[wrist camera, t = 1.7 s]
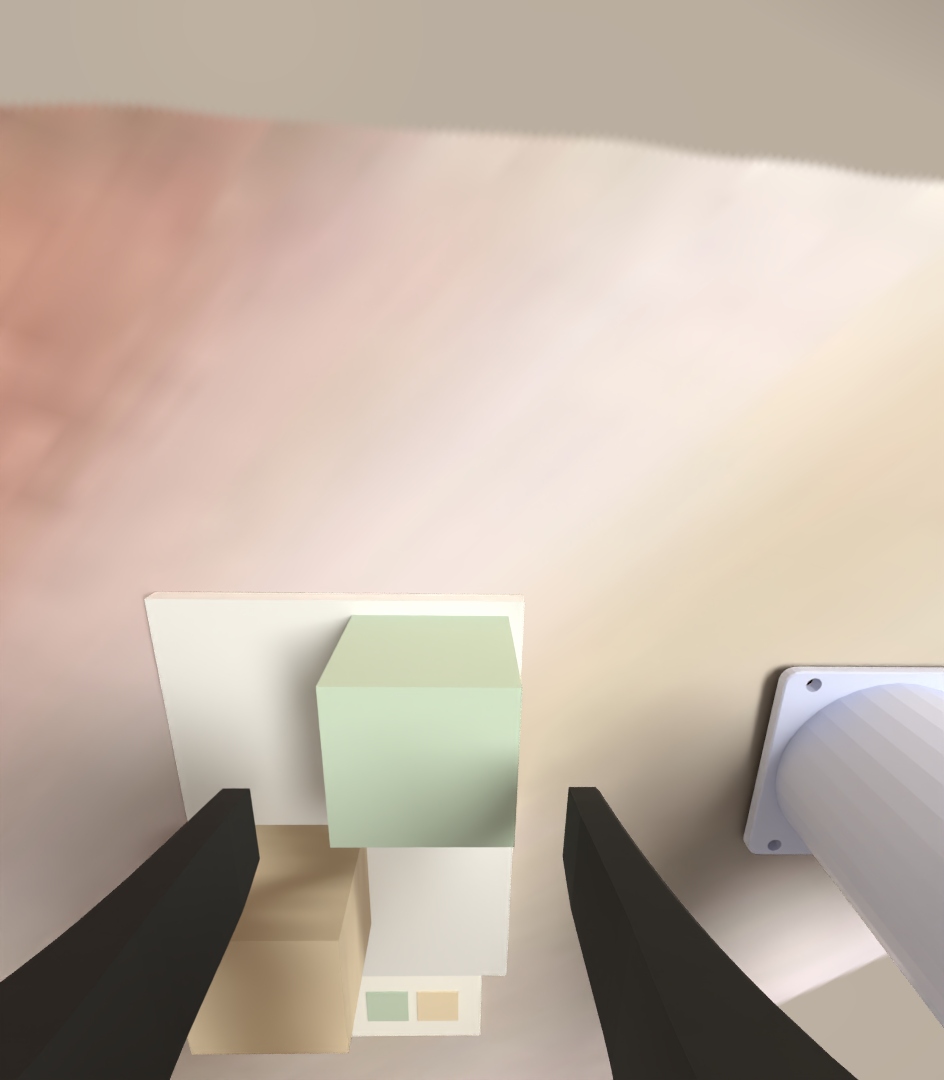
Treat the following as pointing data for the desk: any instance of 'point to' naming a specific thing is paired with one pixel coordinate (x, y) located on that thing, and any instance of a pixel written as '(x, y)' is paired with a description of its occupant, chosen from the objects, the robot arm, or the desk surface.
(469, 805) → the sage block
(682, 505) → the desk surface
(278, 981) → the beech block
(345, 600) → the plate
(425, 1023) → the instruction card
